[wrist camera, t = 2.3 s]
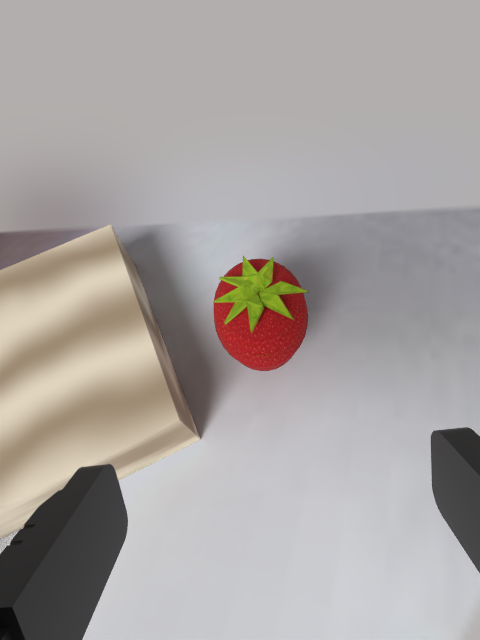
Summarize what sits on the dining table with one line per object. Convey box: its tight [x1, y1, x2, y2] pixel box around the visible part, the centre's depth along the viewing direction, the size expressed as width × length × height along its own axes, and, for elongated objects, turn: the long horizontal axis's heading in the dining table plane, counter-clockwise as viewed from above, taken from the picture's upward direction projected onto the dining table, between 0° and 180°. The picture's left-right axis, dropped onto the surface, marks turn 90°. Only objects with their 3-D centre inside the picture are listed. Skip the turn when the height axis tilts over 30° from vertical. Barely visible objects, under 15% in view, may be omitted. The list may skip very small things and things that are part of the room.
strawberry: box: [214, 256, 309, 371], centre depth 22 cm, size 6×8×10 cm
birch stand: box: [0, 225, 201, 538], centre depth 26 cm, size 18×14×5 cm
